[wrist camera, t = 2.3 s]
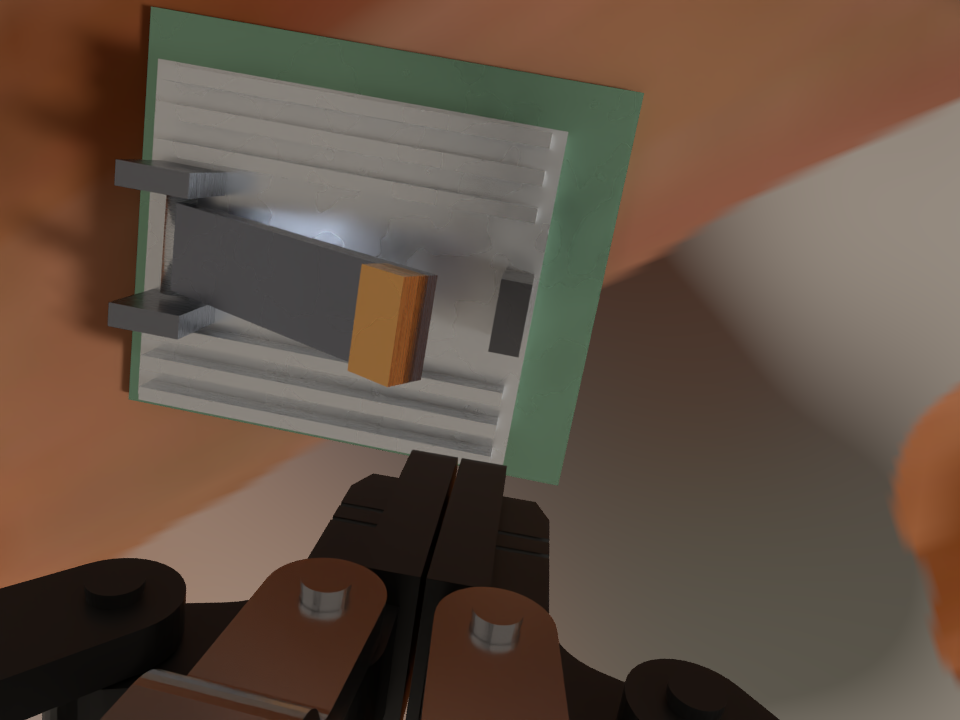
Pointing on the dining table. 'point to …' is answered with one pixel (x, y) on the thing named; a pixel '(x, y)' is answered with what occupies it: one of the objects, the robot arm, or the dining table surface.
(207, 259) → the lever
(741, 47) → the dining table surface
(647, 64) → the dining table surface
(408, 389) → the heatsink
